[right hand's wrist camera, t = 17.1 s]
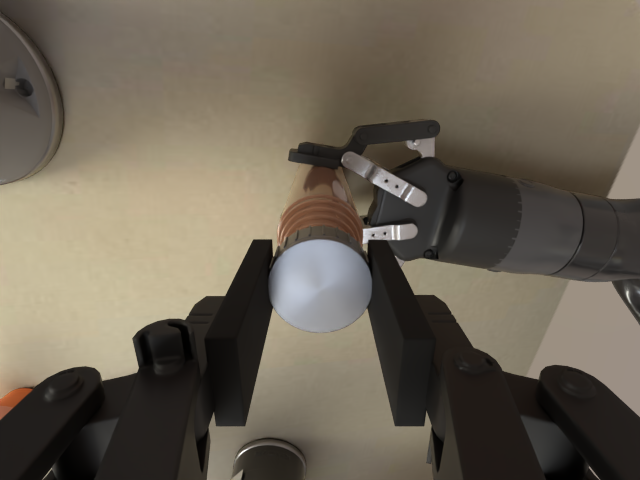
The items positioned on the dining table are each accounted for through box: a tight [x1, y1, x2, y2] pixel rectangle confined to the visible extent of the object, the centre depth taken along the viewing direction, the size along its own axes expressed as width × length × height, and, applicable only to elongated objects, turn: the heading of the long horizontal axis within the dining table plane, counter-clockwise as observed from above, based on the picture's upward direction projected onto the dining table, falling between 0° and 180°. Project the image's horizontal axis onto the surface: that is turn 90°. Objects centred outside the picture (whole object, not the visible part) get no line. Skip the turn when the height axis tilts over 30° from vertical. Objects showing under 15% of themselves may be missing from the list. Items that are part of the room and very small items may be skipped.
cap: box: [268, 225, 372, 333], centre depth 14 cm, size 4×4×2 cm
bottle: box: [277, 163, 363, 247], centre depth 23 cm, size 4×4×21 cm
